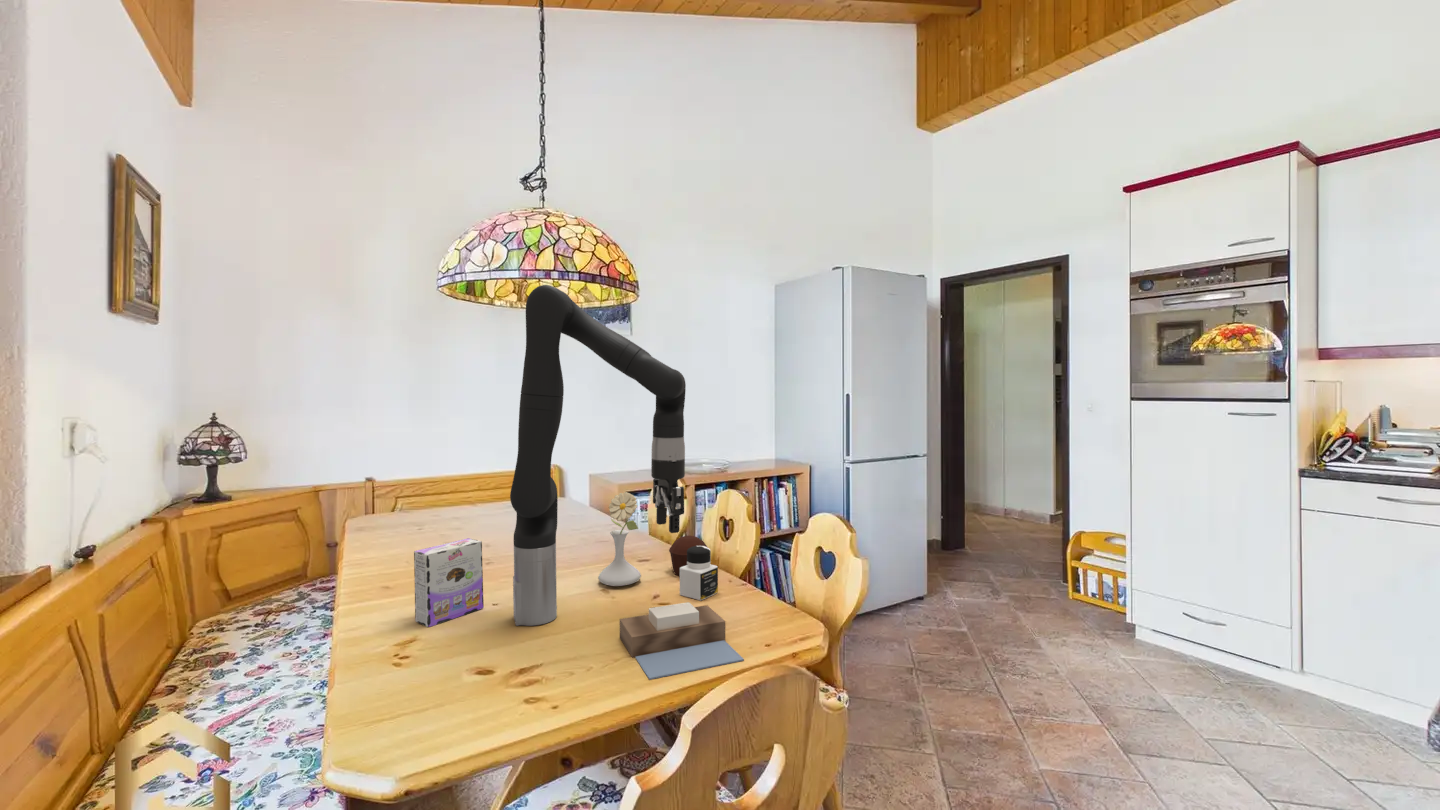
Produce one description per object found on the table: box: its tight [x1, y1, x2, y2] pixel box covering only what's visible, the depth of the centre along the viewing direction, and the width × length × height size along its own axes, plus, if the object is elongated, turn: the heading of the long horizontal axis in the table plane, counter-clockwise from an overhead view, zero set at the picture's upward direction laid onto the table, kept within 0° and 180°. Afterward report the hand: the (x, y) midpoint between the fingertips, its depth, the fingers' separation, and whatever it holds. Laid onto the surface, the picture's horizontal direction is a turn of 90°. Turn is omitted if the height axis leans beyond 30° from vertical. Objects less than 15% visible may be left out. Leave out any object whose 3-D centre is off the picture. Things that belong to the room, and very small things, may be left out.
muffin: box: [668, 535, 708, 577], centre depth 172 cm, size 12×11×10 cm
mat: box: [634, 639, 745, 681], centre depth 118 cm, size 19×10×1 cm, turn 113°
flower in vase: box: [597, 491, 642, 587], centre depth 162 cm, size 13×11×25 cm
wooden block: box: [619, 604, 726, 658], centre depth 127 cm, size 20×10×4 cm, turn 113°
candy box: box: [413, 538, 485, 628], centre depth 140 cm, size 14×6×16 cm, turn 145°
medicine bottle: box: [679, 546, 719, 602], centre depth 154 cm, size 7×7×12 cm
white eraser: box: [648, 601, 699, 631], centre depth 126 cm, size 9×6×2 cm, turn 113°
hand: (667, 528), depth 137 cm, fingers open, 8 cm apart
